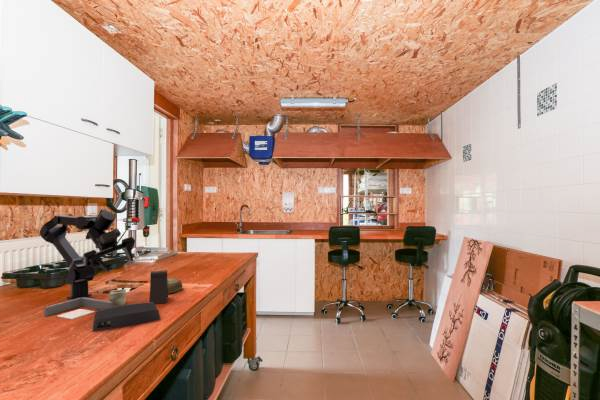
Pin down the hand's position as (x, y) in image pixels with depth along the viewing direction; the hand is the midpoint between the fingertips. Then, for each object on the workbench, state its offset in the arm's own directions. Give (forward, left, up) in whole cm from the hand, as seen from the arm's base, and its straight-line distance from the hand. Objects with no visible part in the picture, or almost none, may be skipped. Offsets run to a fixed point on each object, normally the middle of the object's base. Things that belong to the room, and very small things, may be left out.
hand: (121, 265), depth 126 cm
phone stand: (+11, +8, -15) cm, 20 cm away
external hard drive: (+17, -12, -16) cm, 26 cm away
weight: (+2, +21, -15) cm, 26 cm away
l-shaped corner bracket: (-5, -13, -15) cm, 20 cm away
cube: (-1, -1, -15) cm, 15 cm away
